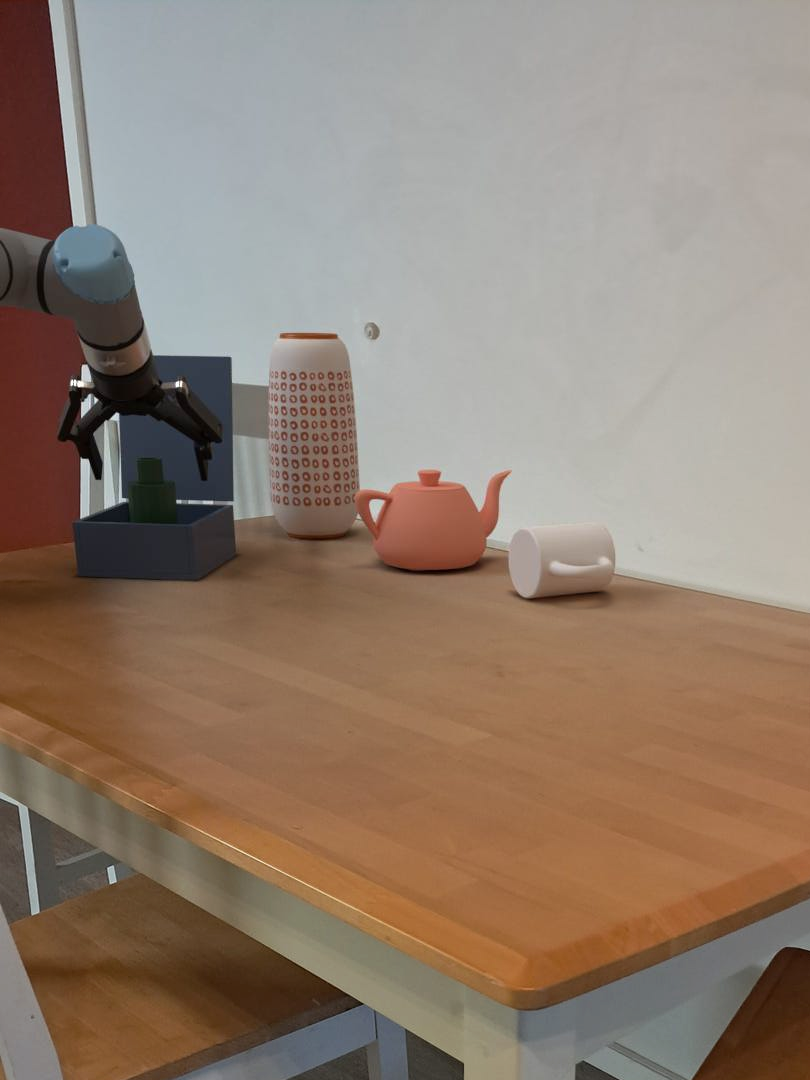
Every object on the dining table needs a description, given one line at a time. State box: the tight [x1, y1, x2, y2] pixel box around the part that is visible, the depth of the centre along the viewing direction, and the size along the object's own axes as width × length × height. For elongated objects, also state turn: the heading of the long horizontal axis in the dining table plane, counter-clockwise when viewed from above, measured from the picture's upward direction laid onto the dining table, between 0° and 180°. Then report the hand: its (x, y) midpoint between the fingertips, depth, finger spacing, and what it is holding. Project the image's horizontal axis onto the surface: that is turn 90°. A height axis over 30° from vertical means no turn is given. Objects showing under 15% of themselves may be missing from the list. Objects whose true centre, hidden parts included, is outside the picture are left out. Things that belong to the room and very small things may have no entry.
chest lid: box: [118, 354, 235, 502], centre depth 175 cm, size 19×16×7 cm
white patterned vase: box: [268, 332, 361, 540], centre depth 187 cm, size 13×13×28 cm
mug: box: [508, 521, 616, 599], centre depth 153 cm, size 12×10×8 cm
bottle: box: [127, 457, 178, 524], centre depth 166 cm, size 6×6×13 cm
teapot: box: [354, 469, 513, 572], centre depth 170 cm, size 22×15×12 cm
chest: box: [71, 501, 237, 581], centre depth 168 cm, size 18×16×7 cm
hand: (152, 472), depth 166 cm, fingers open, 13 cm apart
